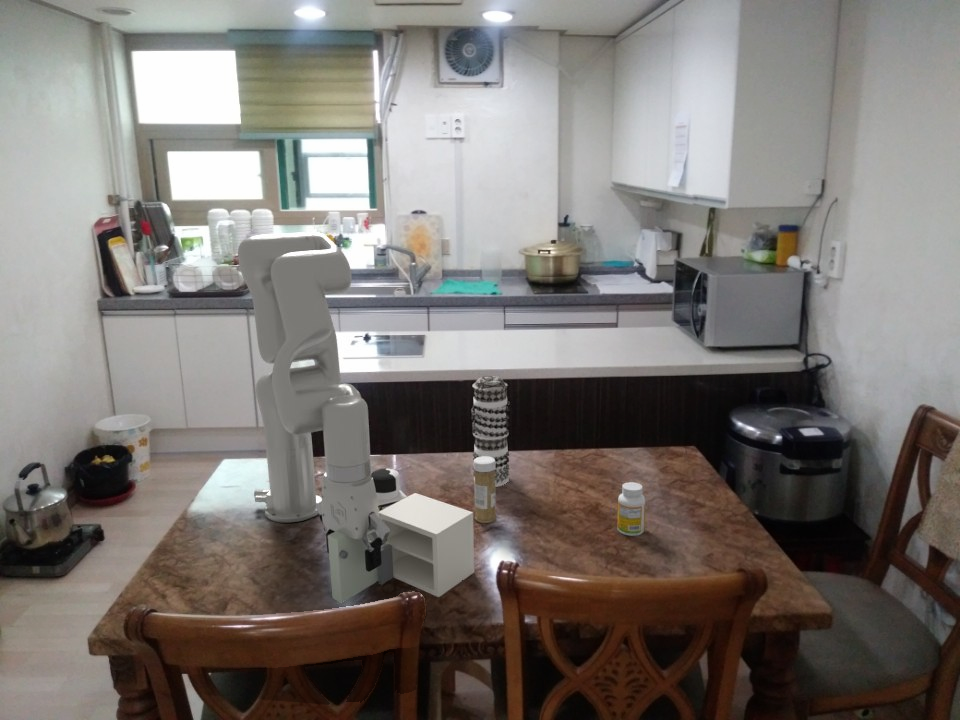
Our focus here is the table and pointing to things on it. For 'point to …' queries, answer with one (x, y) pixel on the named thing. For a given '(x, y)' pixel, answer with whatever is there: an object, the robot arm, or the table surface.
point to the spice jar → (485, 489)
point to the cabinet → (427, 544)
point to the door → (348, 566)
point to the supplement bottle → (631, 509)
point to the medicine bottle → (387, 487)
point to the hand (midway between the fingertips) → (354, 559)
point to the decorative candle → (491, 424)
